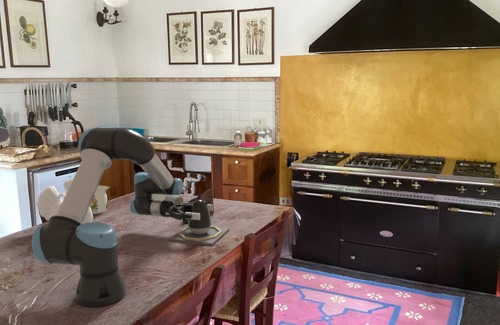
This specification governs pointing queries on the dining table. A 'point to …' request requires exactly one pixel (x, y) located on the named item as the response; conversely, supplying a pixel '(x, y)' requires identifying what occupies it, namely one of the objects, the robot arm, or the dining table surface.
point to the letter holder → (205, 197)
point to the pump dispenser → (205, 221)
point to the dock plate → (200, 236)
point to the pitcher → (99, 200)
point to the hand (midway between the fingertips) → (206, 212)
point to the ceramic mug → (174, 199)
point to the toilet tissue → (158, 196)
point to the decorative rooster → (56, 202)
